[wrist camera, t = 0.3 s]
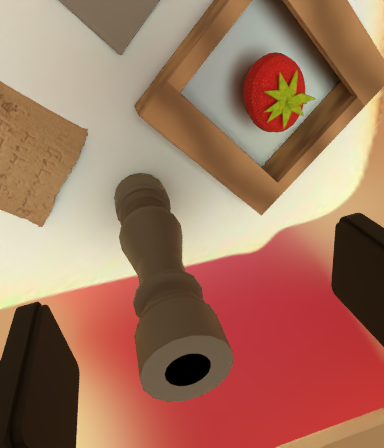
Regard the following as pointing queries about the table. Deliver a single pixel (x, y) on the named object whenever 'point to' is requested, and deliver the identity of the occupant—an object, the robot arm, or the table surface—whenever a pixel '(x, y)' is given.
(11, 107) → the clay tablet
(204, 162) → the wooden box
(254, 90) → the strawberry
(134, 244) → the candle holder
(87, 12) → the mat
